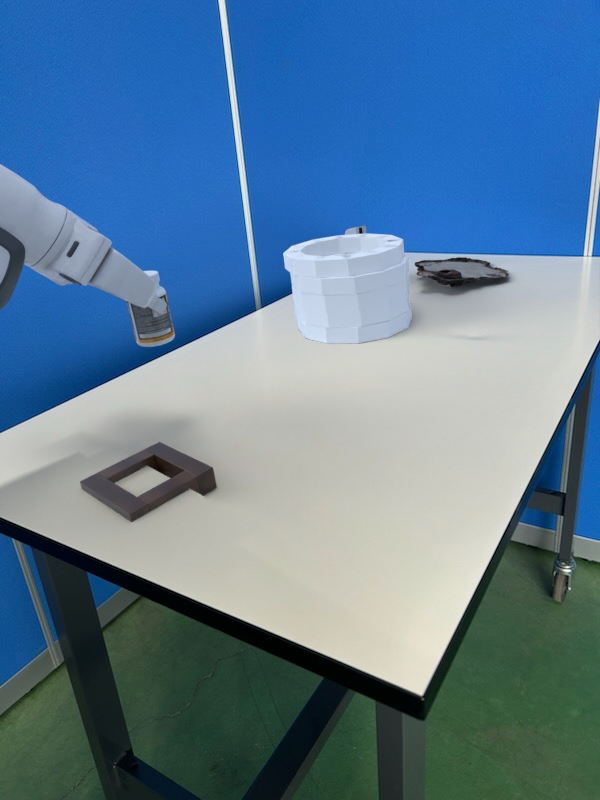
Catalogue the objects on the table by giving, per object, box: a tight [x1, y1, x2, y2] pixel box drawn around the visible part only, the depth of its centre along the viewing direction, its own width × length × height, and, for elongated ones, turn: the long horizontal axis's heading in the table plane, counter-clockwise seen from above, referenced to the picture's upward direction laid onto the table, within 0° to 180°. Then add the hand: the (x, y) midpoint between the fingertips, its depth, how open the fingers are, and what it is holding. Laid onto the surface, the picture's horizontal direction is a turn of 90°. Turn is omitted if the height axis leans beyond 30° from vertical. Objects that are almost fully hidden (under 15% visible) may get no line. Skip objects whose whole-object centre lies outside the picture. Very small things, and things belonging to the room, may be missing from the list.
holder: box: [79, 441, 218, 523], centre depth 78 cm, size 12×12×3 cm
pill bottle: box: [126, 270, 176, 348], centre depth 89 cm, size 6×6×10 cm
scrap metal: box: [414, 256, 510, 289], centre depth 151 cm, size 23×4×30 cm
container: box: [282, 232, 413, 345], centre depth 127 cm, size 25×24×16 cm
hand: (152, 304), depth 89 cm, fingers closed on pill bottle, 6 cm apart
